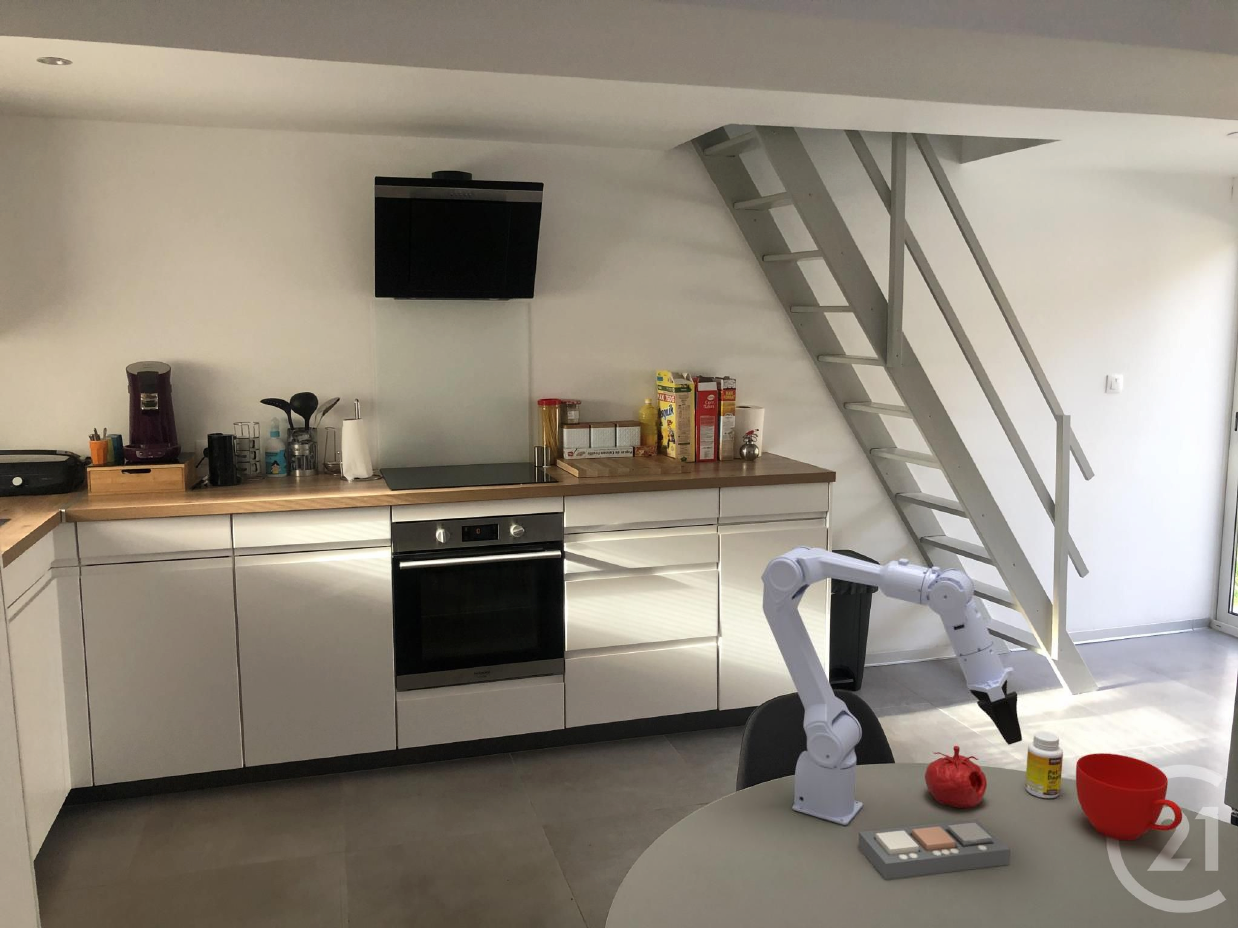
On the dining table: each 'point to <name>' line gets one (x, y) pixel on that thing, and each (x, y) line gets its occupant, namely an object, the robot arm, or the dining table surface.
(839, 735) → the robot arm
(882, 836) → the button two dot
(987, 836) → the button one dot
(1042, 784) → the supplement bottle
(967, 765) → the red hollow rounded sculpture
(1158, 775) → the ceramic cup
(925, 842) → the button three dot
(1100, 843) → the dining table surface
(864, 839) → the button panel
